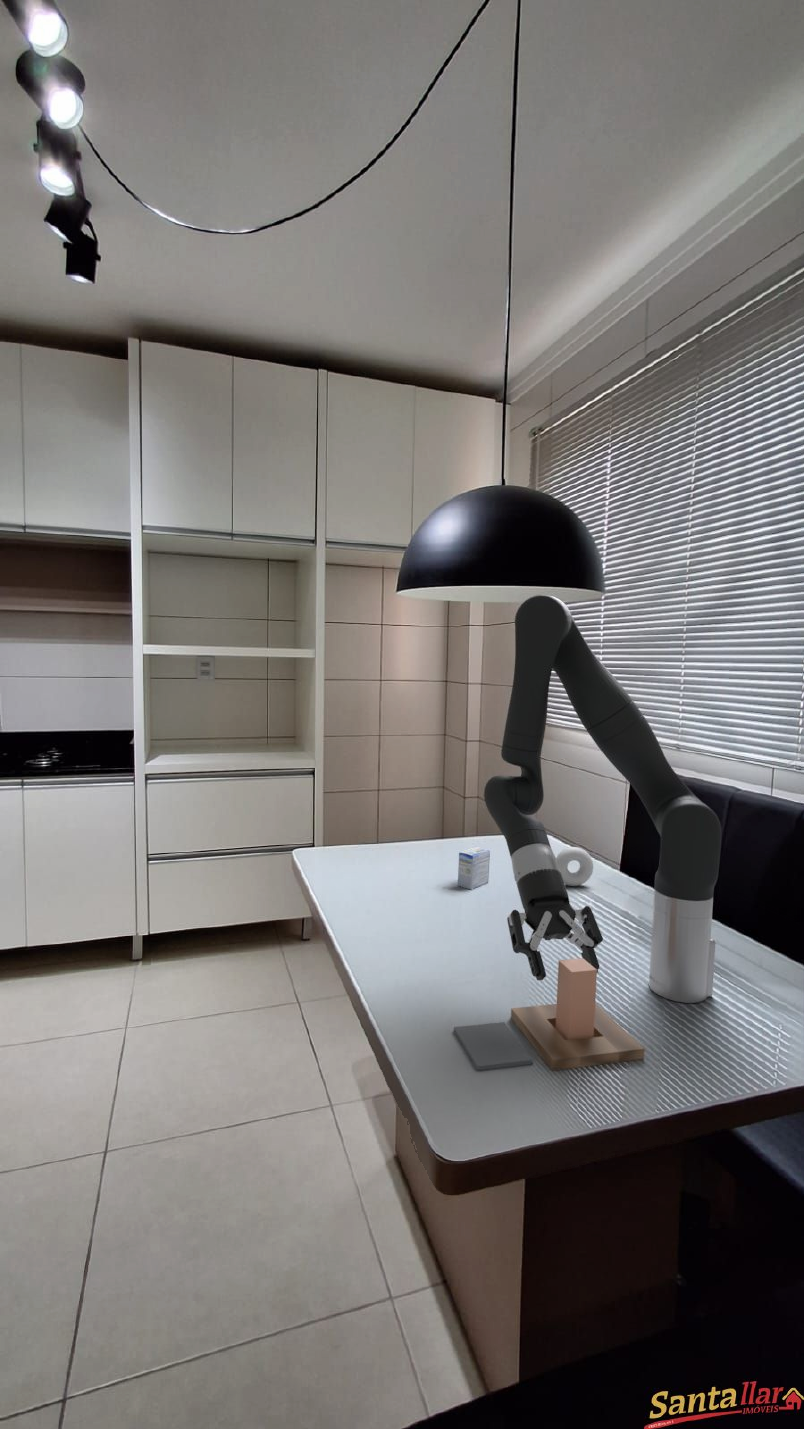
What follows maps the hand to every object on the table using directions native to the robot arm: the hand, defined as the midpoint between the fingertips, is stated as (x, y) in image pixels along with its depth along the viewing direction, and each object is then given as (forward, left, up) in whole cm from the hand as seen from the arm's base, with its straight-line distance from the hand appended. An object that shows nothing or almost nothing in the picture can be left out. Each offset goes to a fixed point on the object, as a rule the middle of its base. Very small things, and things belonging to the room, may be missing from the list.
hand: (568, 976), depth 100 cm
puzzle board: (0, +2, -8) cm, 8 cm away
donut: (-35, -63, -8) cm, 72 cm away
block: (0, +2, -8) cm, 8 cm away
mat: (+13, +2, -8) cm, 15 cm away
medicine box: (-10, -68, -8) cm, 69 cm away
